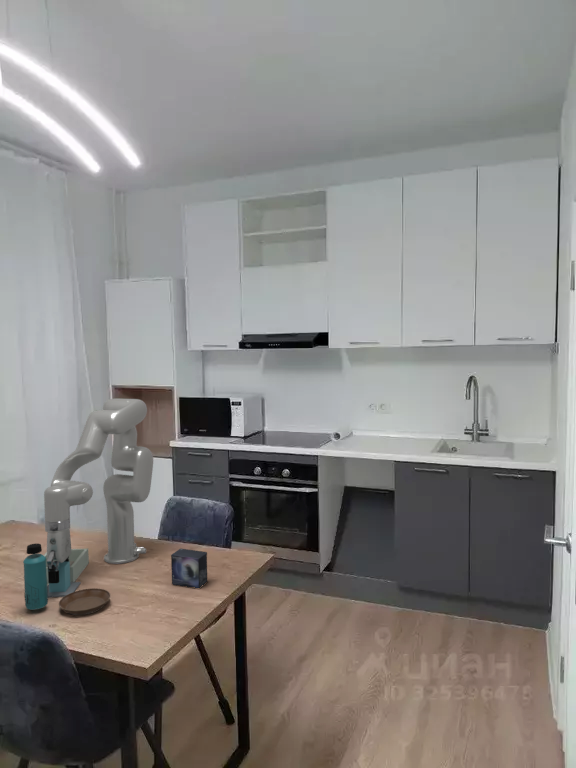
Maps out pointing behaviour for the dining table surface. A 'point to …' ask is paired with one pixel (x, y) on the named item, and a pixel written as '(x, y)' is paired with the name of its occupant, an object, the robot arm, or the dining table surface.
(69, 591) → the mat
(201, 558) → the small box
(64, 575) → the block
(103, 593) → the saucer
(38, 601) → the beverage bottle
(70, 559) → the frame
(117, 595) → the dining table surface
